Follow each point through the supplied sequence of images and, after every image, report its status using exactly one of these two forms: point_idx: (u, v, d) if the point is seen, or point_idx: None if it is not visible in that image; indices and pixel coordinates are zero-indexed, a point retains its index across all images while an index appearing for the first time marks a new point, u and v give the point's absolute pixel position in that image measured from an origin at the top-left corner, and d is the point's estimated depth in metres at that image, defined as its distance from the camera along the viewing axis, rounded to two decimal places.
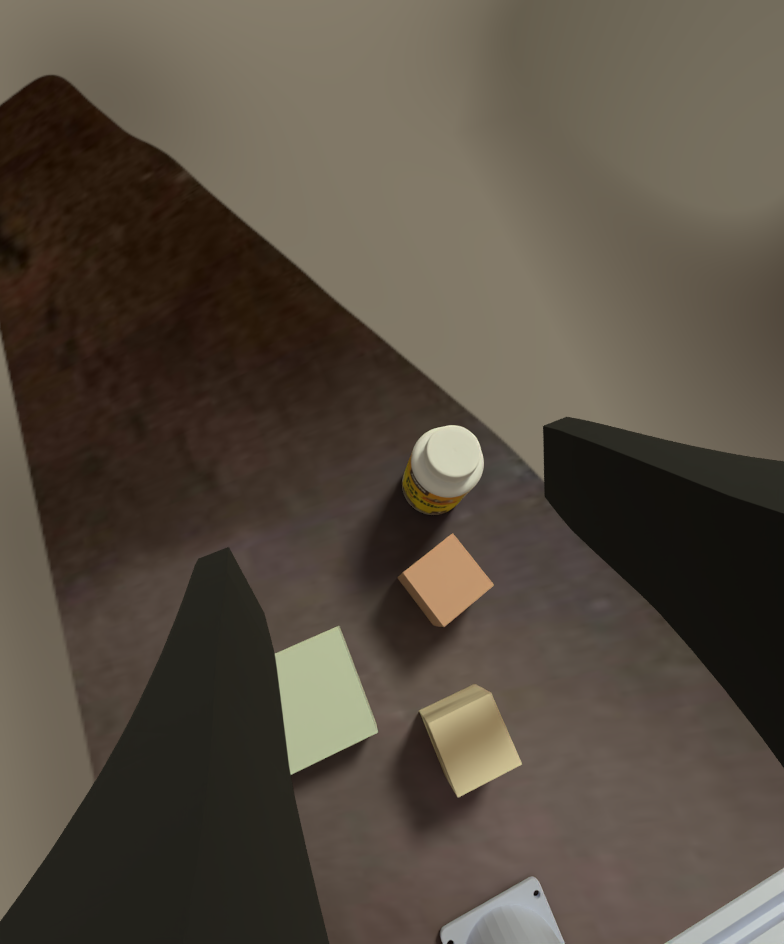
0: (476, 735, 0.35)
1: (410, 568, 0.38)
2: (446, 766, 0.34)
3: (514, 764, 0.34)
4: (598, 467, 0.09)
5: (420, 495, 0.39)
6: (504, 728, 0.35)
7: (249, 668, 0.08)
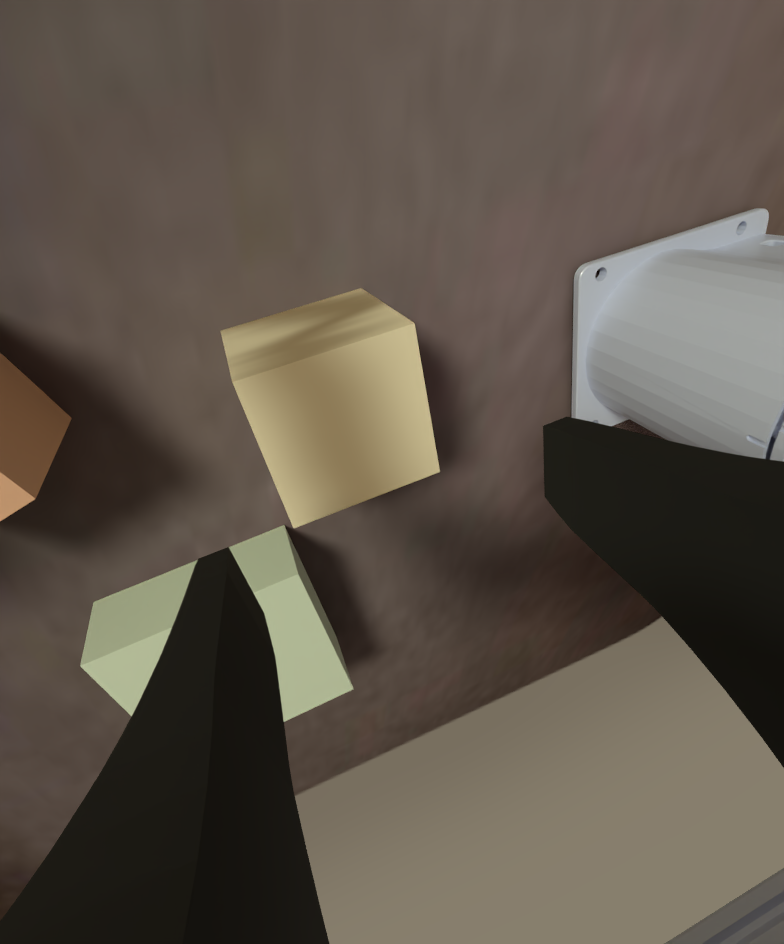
0: (333, 428, 0.14)
1: None
2: (381, 491, 0.16)
3: (410, 343, 0.13)
4: (598, 467, 0.09)
5: None
6: (327, 356, 0.13)
7: (249, 668, 0.08)
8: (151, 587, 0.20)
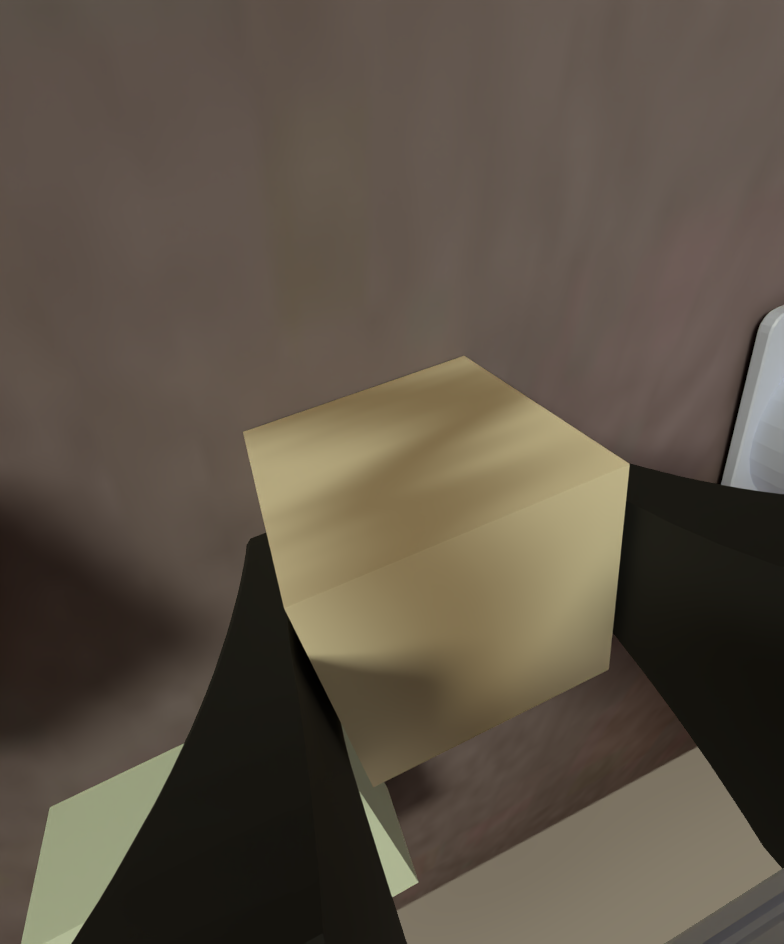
0: (459, 644, 0.08)
1: None
2: (517, 710, 0.09)
3: (615, 497, 0.07)
4: None
5: None
6: (468, 538, 0.06)
7: None
8: (133, 786, 0.13)
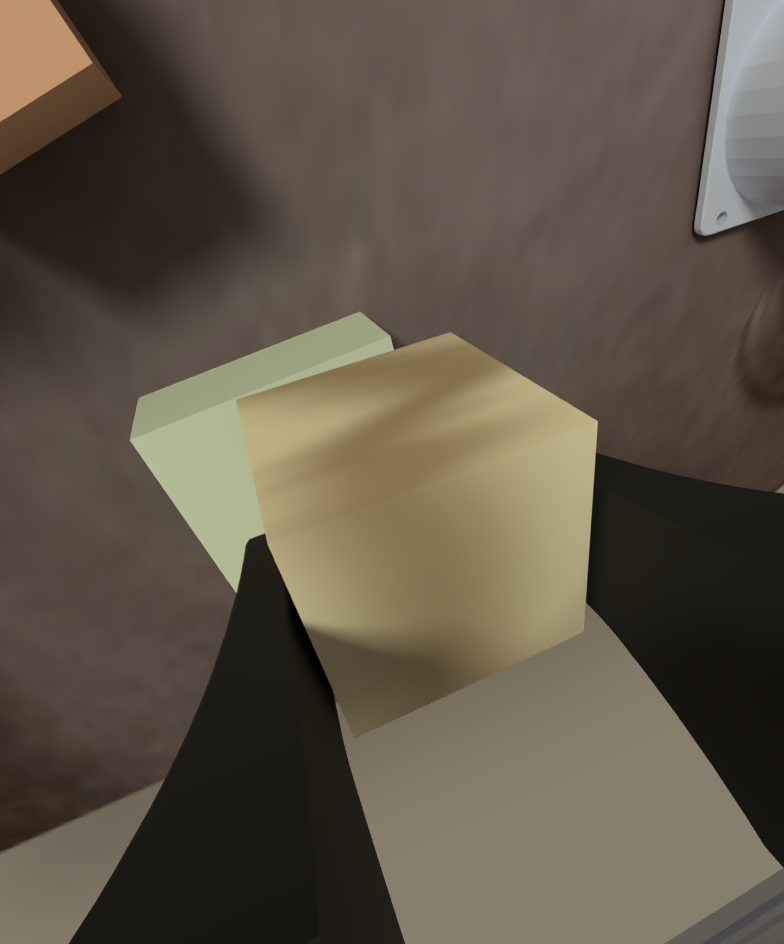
0: (435, 594, 0.08)
1: None
2: (495, 668, 0.10)
3: (584, 454, 0.07)
4: None
5: None
6: (444, 486, 0.07)
7: (307, 643, 0.08)
8: (207, 376, 0.16)
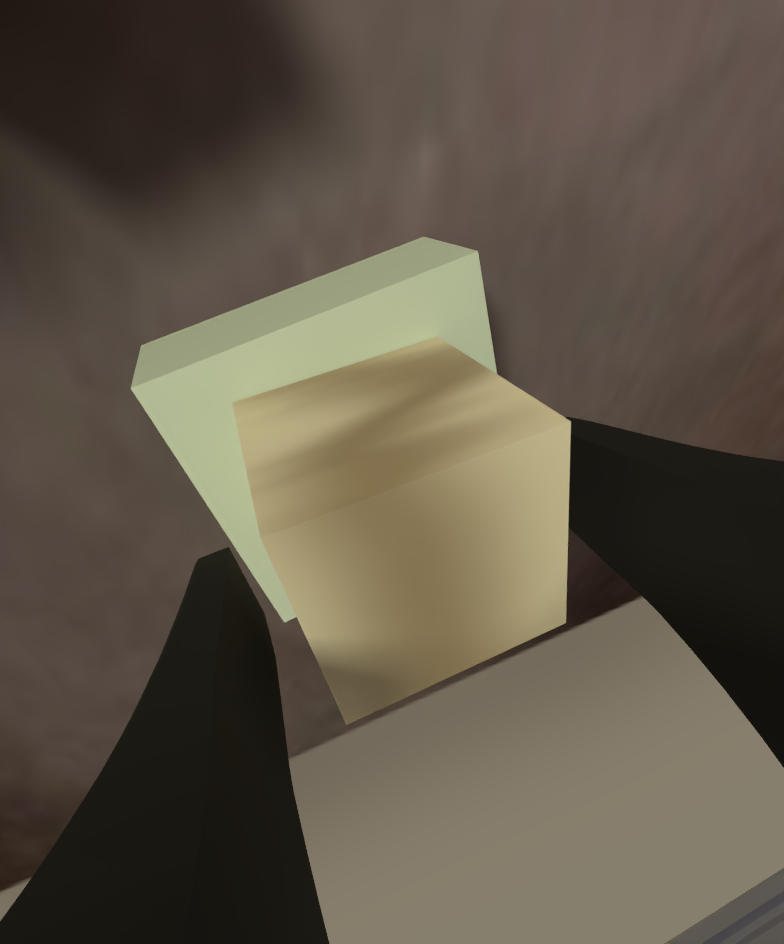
0: (421, 585, 0.08)
1: None
2: (480, 658, 0.10)
3: (559, 452, 0.08)
4: (598, 467, 0.09)
5: None
6: (425, 483, 0.07)
7: (249, 668, 0.08)
8: (230, 315, 0.12)
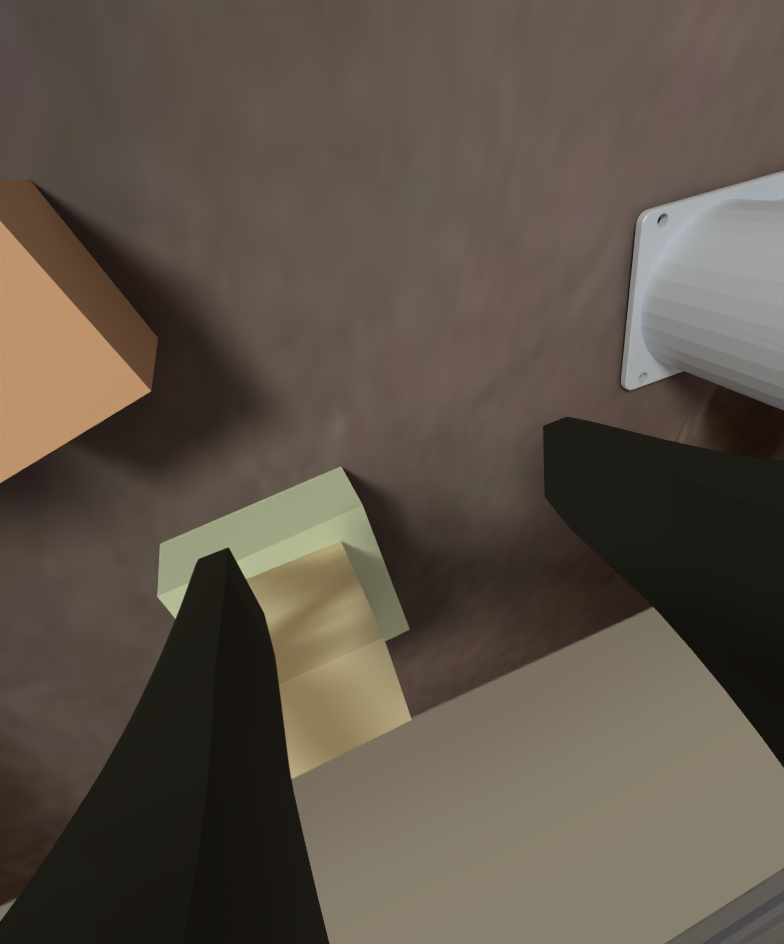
0: (314, 715, 0.16)
1: None
2: (359, 742, 0.18)
3: (381, 649, 0.15)
4: (598, 467, 0.09)
5: None
6: (307, 674, 0.15)
7: (249, 667, 0.08)
8: (216, 526, 0.20)
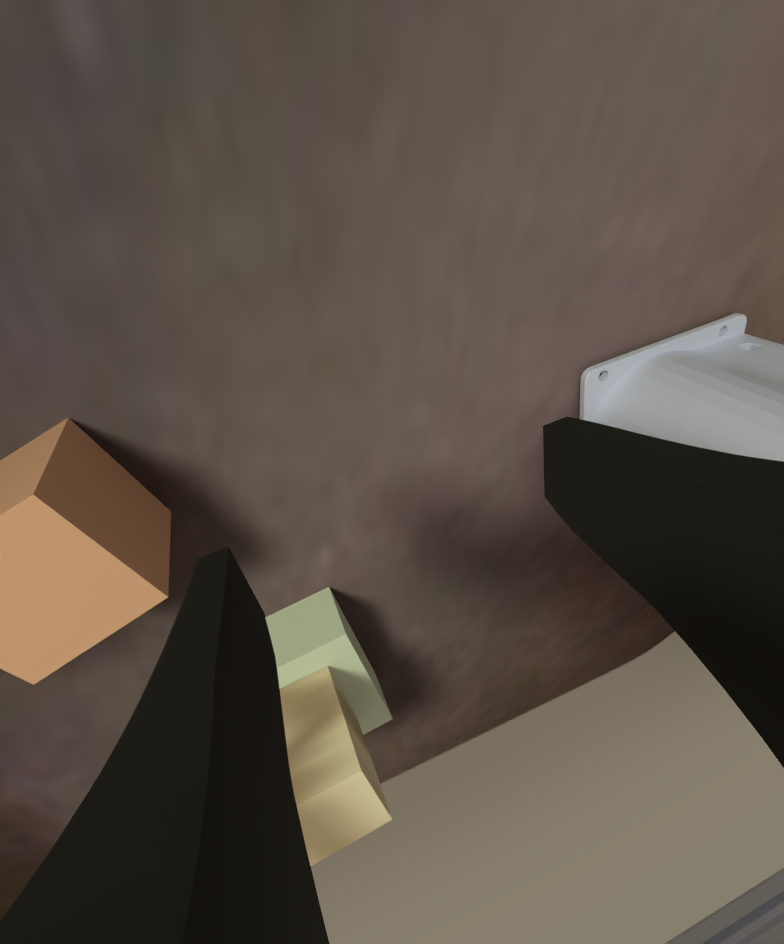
0: (308, 830, 0.19)
1: (18, 673, 0.15)
2: (349, 842, 0.21)
3: (360, 778, 0.19)
4: (598, 467, 0.09)
5: None
6: (300, 805, 0.18)
7: (249, 668, 0.08)
8: None
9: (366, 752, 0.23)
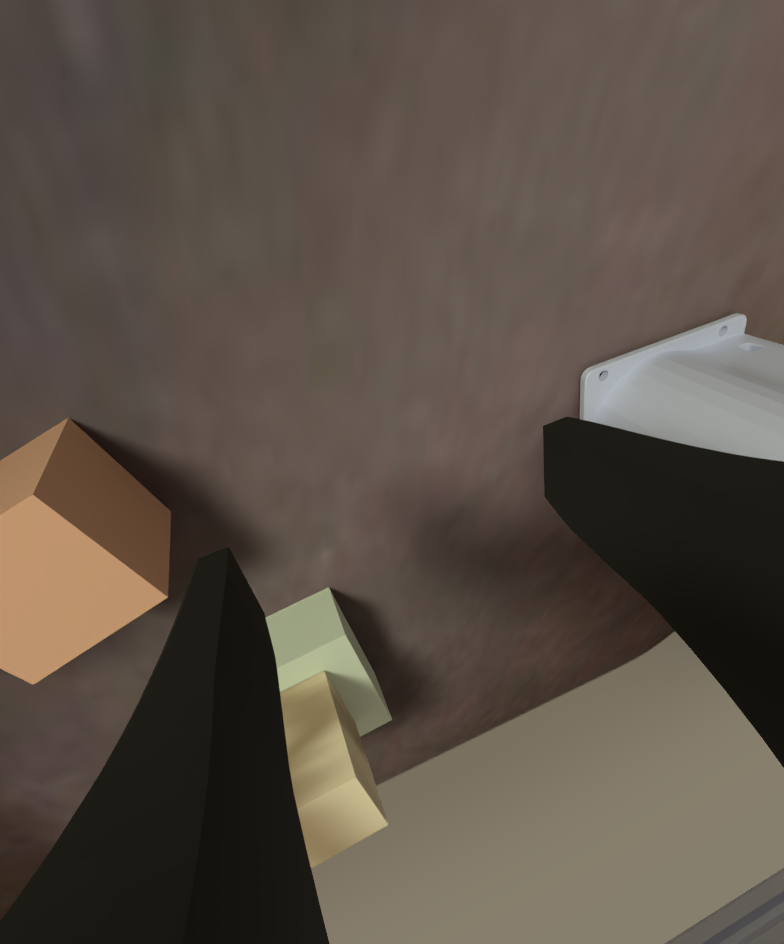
0: None
1: (17, 674, 0.15)
2: (345, 846, 0.21)
3: (354, 785, 0.19)
4: (598, 467, 0.09)
5: None
6: None
7: (249, 668, 0.08)
8: None
9: (363, 757, 0.23)
